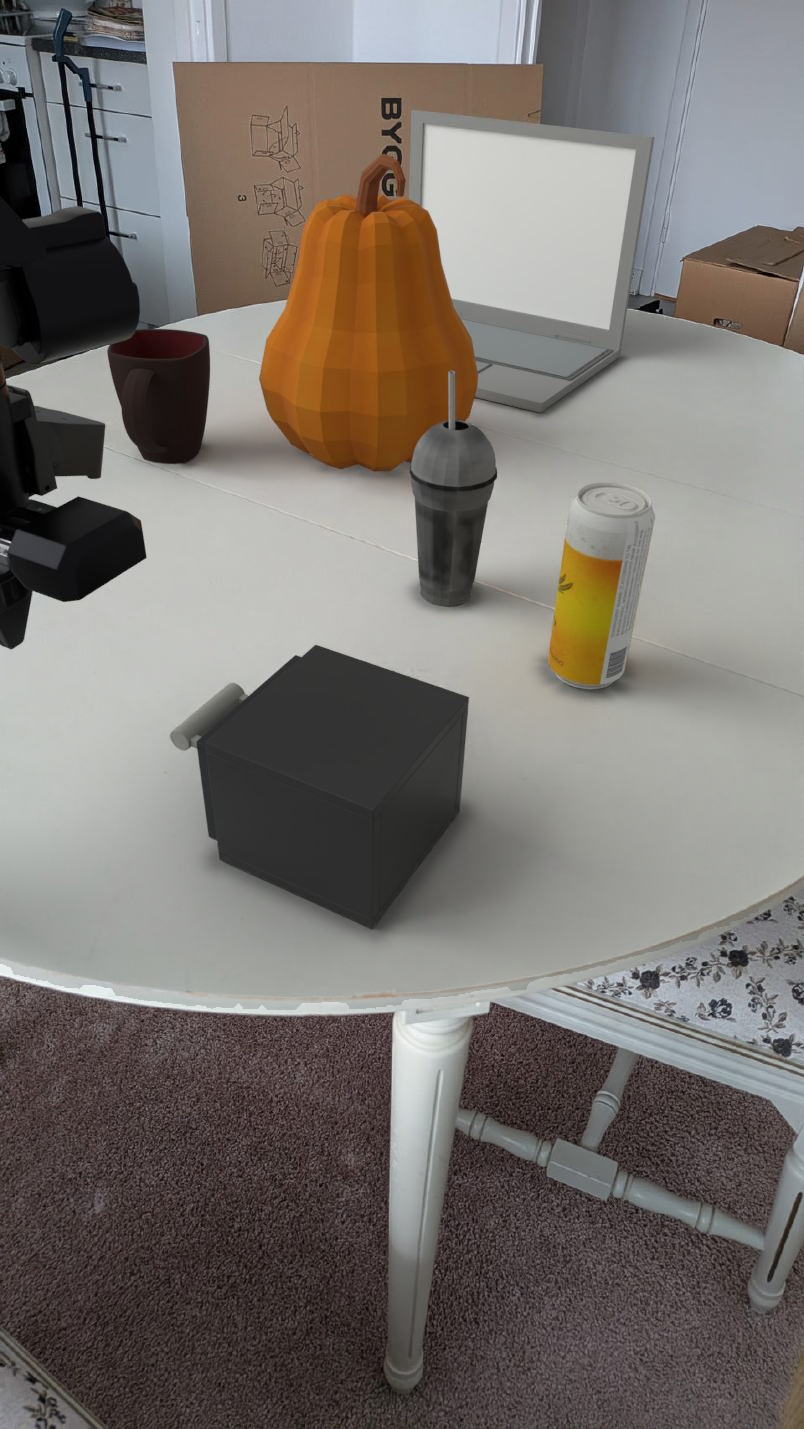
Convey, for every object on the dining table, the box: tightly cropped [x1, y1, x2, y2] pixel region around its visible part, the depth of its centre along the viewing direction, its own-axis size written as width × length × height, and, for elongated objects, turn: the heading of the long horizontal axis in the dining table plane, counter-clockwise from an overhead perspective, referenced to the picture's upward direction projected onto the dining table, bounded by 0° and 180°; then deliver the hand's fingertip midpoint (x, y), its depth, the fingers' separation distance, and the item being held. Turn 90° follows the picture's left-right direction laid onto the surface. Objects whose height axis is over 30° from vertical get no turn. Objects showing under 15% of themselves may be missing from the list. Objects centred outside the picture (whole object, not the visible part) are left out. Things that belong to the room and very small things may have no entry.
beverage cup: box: [408, 371, 498, 607], centre depth 82 cm, size 7×7×20 cm
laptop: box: [408, 109, 655, 414], centre depth 130 cm, size 35×26×27 cm
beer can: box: [547, 481, 656, 690], centre depth 75 cm, size 6×6×15 cm
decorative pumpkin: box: [258, 153, 478, 473], centre depth 104 cm, size 24×24×30 cm
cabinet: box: [205, 644, 470, 930], centre depth 61 cm, size 11×12×10 cm
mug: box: [106, 328, 211, 465], centre depth 106 cm, size 10×14×12 cm
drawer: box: [169, 654, 302, 841], centre depth 63 cm, size 14×10×8 cm
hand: (12, 644), depth 59 cm, fingers closed
